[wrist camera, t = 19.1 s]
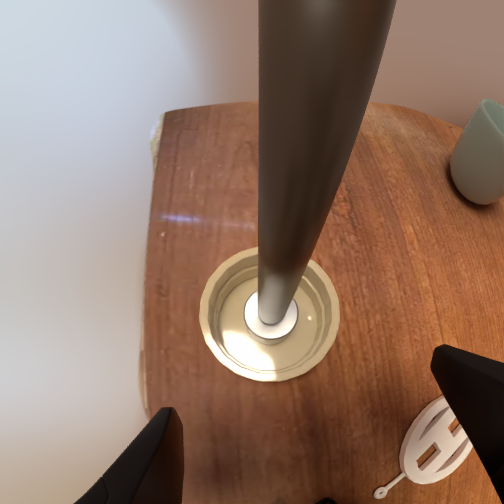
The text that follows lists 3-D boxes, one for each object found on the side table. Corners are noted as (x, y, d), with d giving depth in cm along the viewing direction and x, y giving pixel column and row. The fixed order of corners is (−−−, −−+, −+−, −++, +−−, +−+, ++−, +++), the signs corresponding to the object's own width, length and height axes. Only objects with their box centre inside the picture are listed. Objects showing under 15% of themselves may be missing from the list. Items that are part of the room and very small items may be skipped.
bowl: (254, 402, 17) (253, 409, 14) (189, 309, 20) (174, 293, 16) (346, 333, 19) (366, 322, 16) (278, 249, 22) (283, 223, 18)
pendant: (485, 425, 15) (490, 425, 14) (394, 519, 12) (398, 523, 11) (454, 373, 17) (459, 372, 16) (352, 472, 15) (355, 475, 14)
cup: (480, 167, 26) (518, 114, 17) (498, 221, 23) (549, 169, 14) (433, 152, 27) (470, 88, 18) (450, 208, 24) (503, 143, 14)
